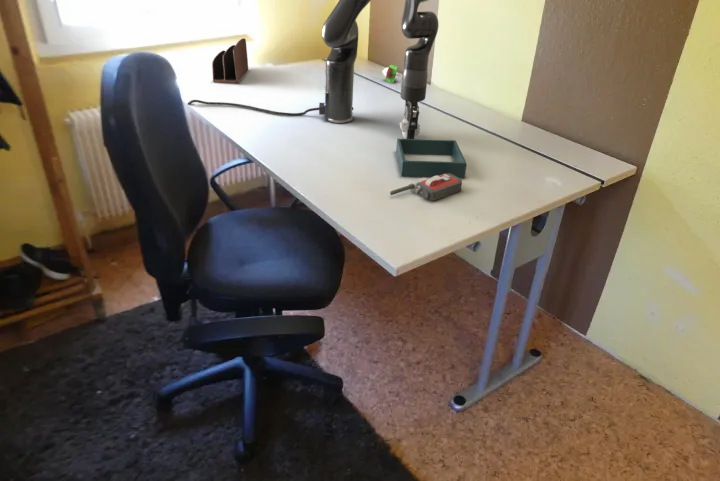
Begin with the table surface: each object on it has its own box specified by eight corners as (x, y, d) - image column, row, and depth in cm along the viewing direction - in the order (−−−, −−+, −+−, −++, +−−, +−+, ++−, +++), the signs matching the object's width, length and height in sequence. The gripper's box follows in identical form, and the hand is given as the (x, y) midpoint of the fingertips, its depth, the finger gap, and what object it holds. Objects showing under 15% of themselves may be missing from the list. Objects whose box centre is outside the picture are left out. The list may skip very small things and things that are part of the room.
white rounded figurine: (394, 137, 174) (396, 116, 171) (413, 134, 177) (416, 114, 173) (403, 144, 170) (405, 122, 166) (423, 141, 172) (425, 120, 169)
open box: (401, 176, 151) (402, 161, 148) (395, 152, 165) (397, 138, 162) (464, 178, 152) (466, 163, 149) (453, 154, 166) (455, 140, 163)
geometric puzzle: (391, 72, 232) (386, 58, 226) (405, 75, 229) (400, 61, 222) (383, 85, 231) (377, 72, 224) (396, 88, 227) (391, 75, 221)
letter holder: (248, 70, 232) (246, 35, 224) (238, 84, 215) (235, 47, 208) (225, 69, 232) (222, 34, 225) (212, 82, 215) (209, 45, 208)
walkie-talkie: (442, 178, 151) (387, 196, 140) (444, 163, 149) (388, 180, 138) (465, 190, 146) (410, 210, 135) (468, 175, 143) (412, 194, 132)
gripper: (399, 75, 170) (395, 127, 179) (404, 89, 157) (399, 144, 166) (423, 76, 170) (417, 128, 179) (430, 90, 158) (424, 145, 167)
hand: (409, 135), depth 173 cm, fingers closed on white rounded figurine, 6 cm apart
